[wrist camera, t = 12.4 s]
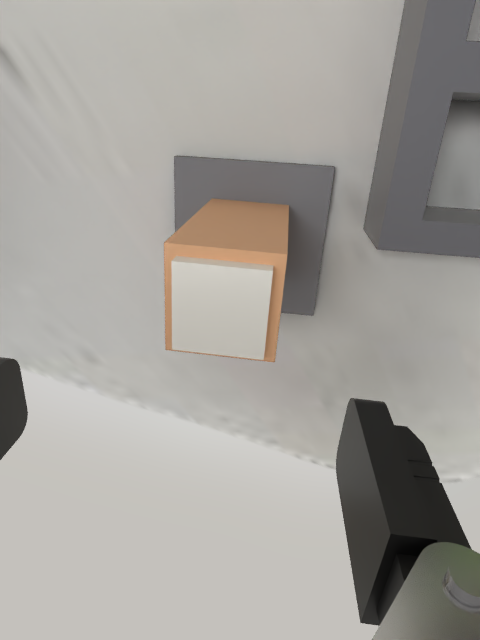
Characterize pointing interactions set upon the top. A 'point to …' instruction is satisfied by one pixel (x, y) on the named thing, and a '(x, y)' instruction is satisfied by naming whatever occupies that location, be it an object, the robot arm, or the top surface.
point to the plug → (227, 280)
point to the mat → (275, 188)
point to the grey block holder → (423, 132)
